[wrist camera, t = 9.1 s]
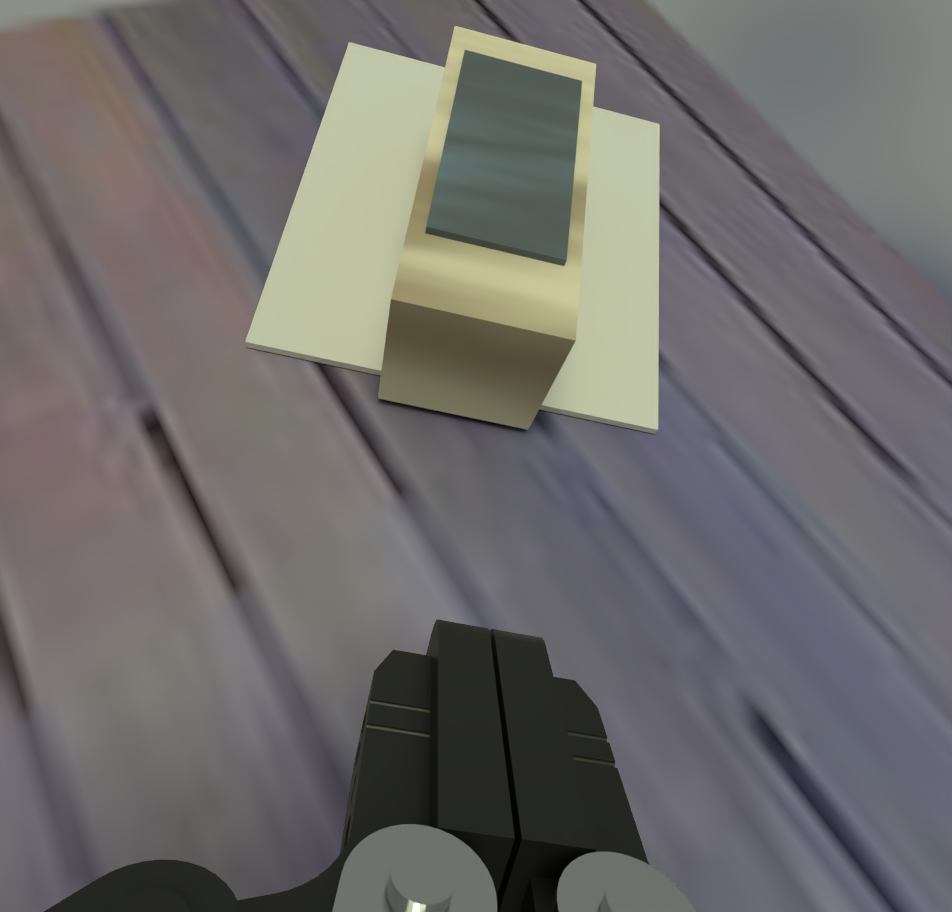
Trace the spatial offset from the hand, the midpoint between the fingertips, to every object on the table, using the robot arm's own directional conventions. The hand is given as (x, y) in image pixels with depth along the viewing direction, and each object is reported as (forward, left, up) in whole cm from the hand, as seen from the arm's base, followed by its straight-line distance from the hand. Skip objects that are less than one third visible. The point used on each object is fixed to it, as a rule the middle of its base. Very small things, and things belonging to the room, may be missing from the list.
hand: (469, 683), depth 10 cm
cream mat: (-7, +18, -10) cm, 21 cm away
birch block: (-3, +9, -7) cm, 12 cm away
